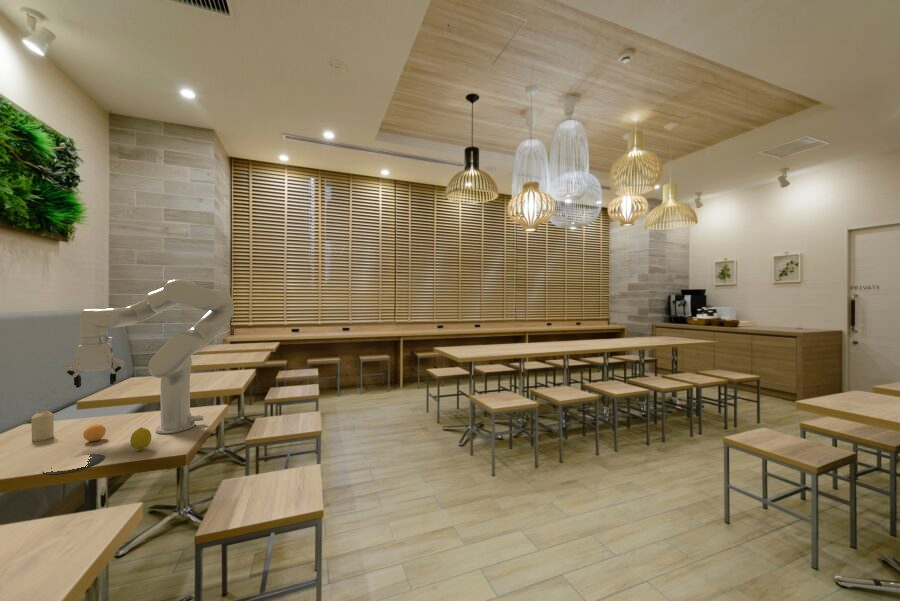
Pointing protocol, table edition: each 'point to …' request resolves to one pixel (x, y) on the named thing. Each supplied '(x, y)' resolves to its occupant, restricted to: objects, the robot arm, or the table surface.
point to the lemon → (140, 438)
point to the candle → (42, 426)
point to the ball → (94, 432)
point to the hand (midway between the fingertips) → (95, 385)
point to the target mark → (93, 461)
